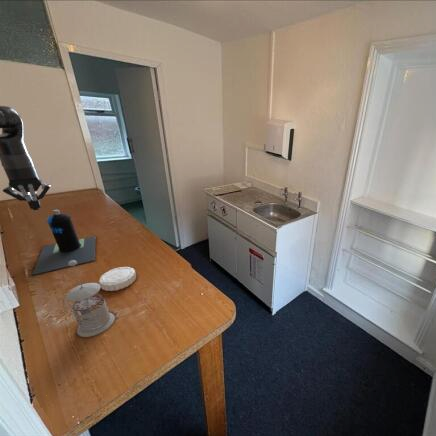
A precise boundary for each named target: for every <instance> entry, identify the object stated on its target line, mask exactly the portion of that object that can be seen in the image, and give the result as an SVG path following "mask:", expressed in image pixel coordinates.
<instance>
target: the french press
mask: <svg viewBox="0 0 436 436" xmlns="http://www.w3.org/2000/svg"><path fill="white" fill-rule="evenodd" d="M76 264H77V262H76V261H75V260H71V261H69V262H68V266H71V267H73V269H74V271H75V274H76V278H77V279H78V282H79V285H77V286H75V287H74V288H72V289H71V290H70V291H68V292H67V294H66V295H65V298H64V299H63V300H62V303H61V305H62V307H63V310H65V311H66V312H67V313H68V314H70V315H73V316H74V318H75V320H76V322H77V325H78V327H77V330H76V334H77V335H78V336H79V337H83V338H90V337H94V336H97V335H99V334H101V333H103V332H104V331H106V330H107V329H109V328H110V327H111V326H112V325H113V324H114V322H115V318H116V317H115V315H114V314H113V313H112V312H110V311H109V308H108V305H107V302H106V300H105V298H104V297H103V295H102V294H100V293H99V292H100V290H101V286H100V284H99V282H98V283H97V282H88V283H87V282H86V283H82V282H81V279H80V277H79V275H78V274H79V273H78V272H77V270H76V267H75V266H77V265H76ZM74 265H75V266H74ZM65 301H66V303H67V304H68V306H69V307H70V308H71V309H72V312H71V311H69V310H68V309H67V308H66V306H65ZM70 302H74V303H73V304H72V305H71V304H70ZM79 312H80V314H79Z"/></svg>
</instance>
